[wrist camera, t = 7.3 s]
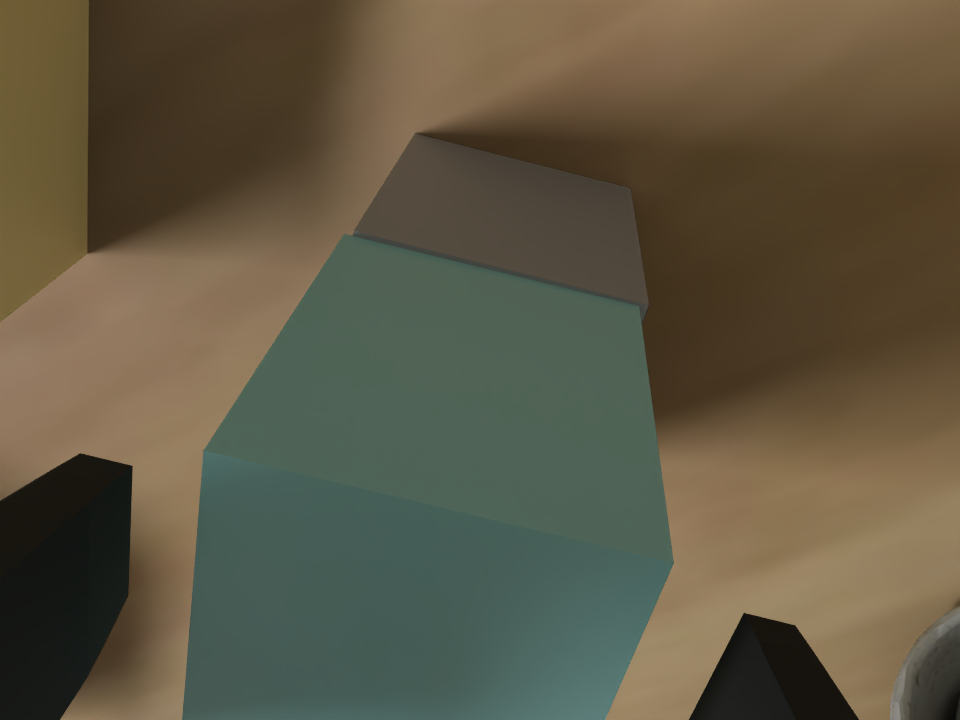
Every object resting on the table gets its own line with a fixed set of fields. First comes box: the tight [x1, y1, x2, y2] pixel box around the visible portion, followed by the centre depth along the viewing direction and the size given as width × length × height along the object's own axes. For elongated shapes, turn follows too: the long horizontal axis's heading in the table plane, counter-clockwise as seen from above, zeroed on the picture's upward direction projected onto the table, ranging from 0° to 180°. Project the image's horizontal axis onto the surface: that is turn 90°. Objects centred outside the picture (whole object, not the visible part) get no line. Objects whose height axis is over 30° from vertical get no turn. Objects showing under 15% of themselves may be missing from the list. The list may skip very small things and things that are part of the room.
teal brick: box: [182, 234, 674, 720], centre depth 11 cm, size 6×4×5 cm, turn 167°
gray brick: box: [353, 134, 649, 324], centre depth 15 cm, size 6×4×5 cm, turn 167°
